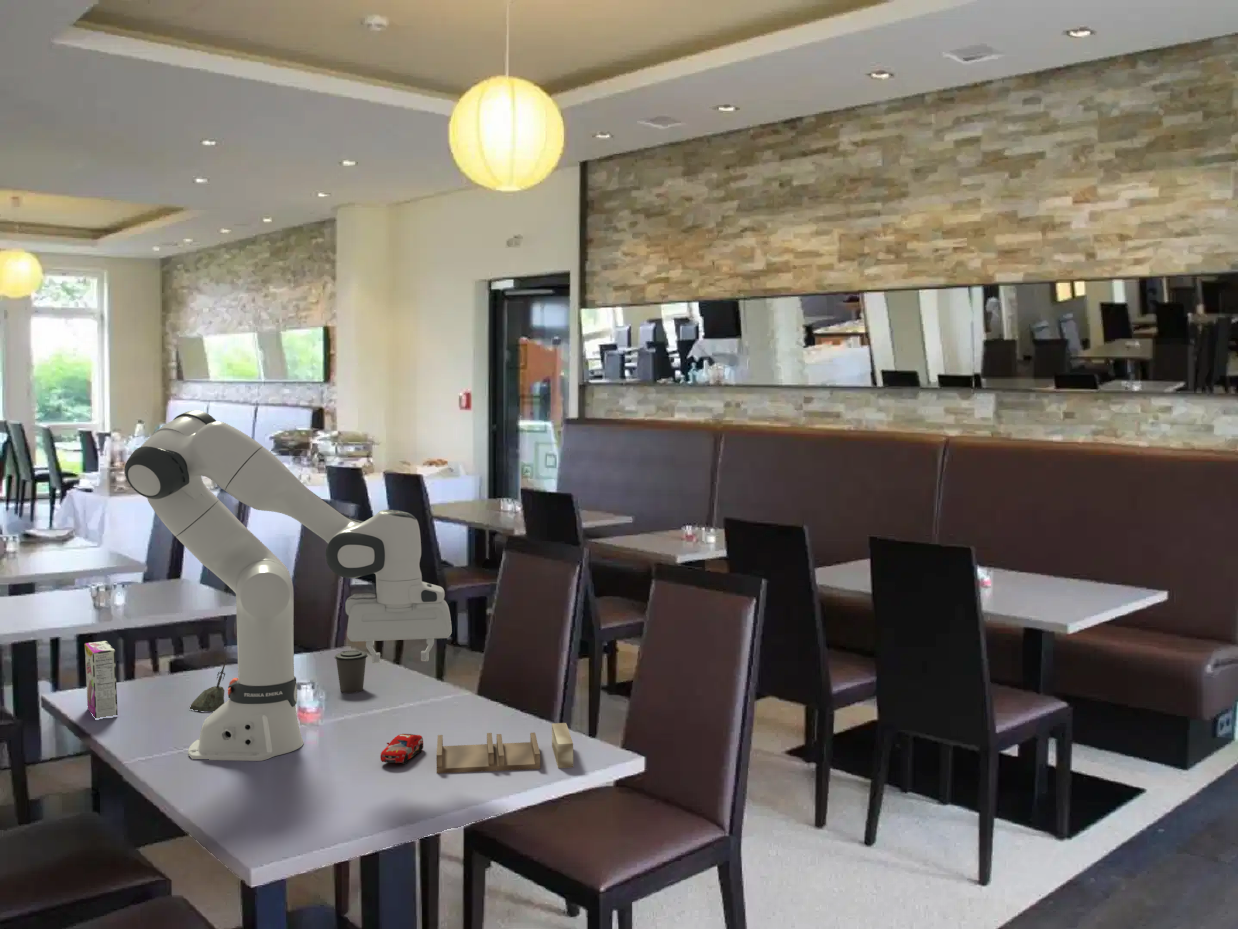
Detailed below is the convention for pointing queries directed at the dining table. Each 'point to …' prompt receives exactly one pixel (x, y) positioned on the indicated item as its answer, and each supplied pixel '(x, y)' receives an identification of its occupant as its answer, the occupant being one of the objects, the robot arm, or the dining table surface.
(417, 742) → the race car
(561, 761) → the bar
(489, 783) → the dining table surface
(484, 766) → the jig
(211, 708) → the sword in stone
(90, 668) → the candy bar box
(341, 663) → the coffee cup
